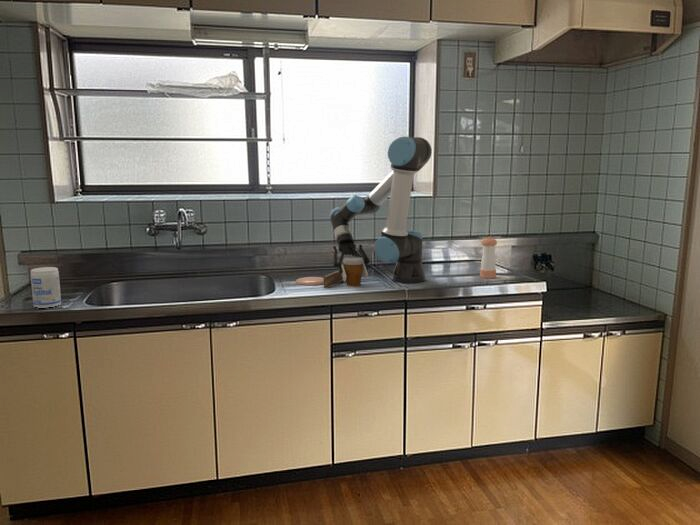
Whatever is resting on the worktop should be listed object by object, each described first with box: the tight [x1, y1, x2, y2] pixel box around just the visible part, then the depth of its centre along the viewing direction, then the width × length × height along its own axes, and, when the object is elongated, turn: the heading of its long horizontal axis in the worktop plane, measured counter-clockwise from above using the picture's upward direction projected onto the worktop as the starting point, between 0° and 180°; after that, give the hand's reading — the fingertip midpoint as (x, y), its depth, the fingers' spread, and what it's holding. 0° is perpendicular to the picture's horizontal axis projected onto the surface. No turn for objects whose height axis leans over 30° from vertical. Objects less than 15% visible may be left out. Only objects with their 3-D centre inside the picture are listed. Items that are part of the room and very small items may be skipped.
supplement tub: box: [30, 266, 62, 309], centre depth 213 cm, size 10×10×15 cm
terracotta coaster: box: [295, 276, 324, 286], centre depth 253 cm, size 15×15×1 cm
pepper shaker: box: [479, 236, 498, 279], centre depth 259 cm, size 7×7×19 cm
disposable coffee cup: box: [342, 256, 364, 287], centre depth 245 cm, size 10×10×12 cm
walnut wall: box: [323, 269, 344, 289], centre depth 248 cm, size 2×16×5 cm, turn 155°
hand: (355, 277), depth 243 cm, fingers open, 9 cm apart
